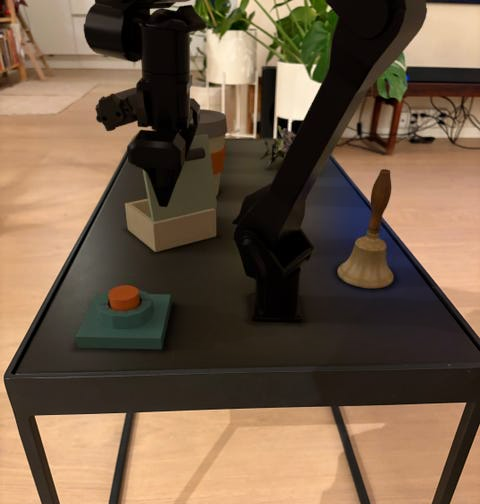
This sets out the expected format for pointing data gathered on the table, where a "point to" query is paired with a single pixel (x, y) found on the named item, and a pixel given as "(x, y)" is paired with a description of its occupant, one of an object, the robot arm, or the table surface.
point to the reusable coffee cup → (214, 139)
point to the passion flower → (279, 145)
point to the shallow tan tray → (169, 226)
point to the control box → (125, 323)
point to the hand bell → (371, 244)
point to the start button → (124, 298)
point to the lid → (188, 185)
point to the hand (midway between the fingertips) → (169, 191)
